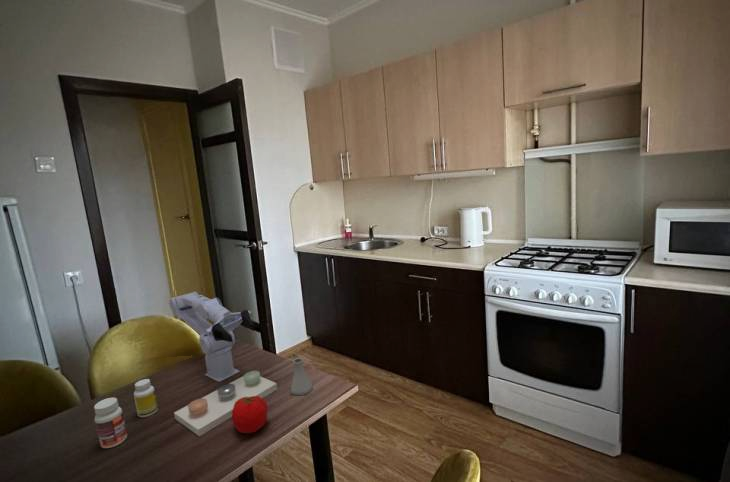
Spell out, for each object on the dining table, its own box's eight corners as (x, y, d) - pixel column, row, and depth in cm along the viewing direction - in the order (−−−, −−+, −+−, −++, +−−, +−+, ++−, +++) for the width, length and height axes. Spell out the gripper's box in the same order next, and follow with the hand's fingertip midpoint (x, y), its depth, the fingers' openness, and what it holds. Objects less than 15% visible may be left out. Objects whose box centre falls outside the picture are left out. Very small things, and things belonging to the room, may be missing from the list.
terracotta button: (185, 410, 107) (184, 405, 107) (202, 401, 111) (201, 396, 111) (194, 416, 104) (193, 411, 104) (211, 407, 108) (210, 401, 108)
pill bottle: (122, 446, 100) (113, 407, 98) (96, 451, 99) (87, 412, 97) (131, 431, 106) (123, 394, 104) (106, 436, 105) (98, 399, 103)
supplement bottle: (161, 410, 114) (155, 381, 113) (141, 420, 111) (134, 389, 109) (154, 404, 118) (148, 375, 116) (135, 413, 114) (129, 383, 113)
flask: (315, 382, 122) (312, 354, 121) (310, 395, 115) (306, 365, 114) (293, 383, 123) (290, 354, 121) (287, 396, 116) (283, 366, 114)
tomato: (251, 443, 96) (246, 413, 95) (224, 432, 102) (219, 404, 100) (277, 422, 104) (273, 394, 103) (251, 412, 109) (247, 386, 108)
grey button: (215, 395, 114) (214, 389, 114) (229, 387, 118) (229, 382, 118) (224, 400, 111) (223, 394, 111) (239, 391, 115) (238, 386, 115)
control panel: (175, 418, 110) (173, 412, 109) (251, 377, 129) (250, 372, 129) (199, 436, 101) (198, 429, 101) (277, 389, 121) (276, 383, 120)
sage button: (241, 381, 121) (240, 376, 121) (254, 374, 125) (253, 369, 125) (250, 385, 118) (249, 380, 118) (263, 378, 122) (262, 373, 121)
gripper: (197, 316, 118) (216, 332, 109) (240, 298, 128) (261, 311, 118) (202, 335, 121) (221, 352, 112) (244, 316, 130) (264, 330, 121)
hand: (242, 333), depth 115 cm, fingers open, 7 cm apart
